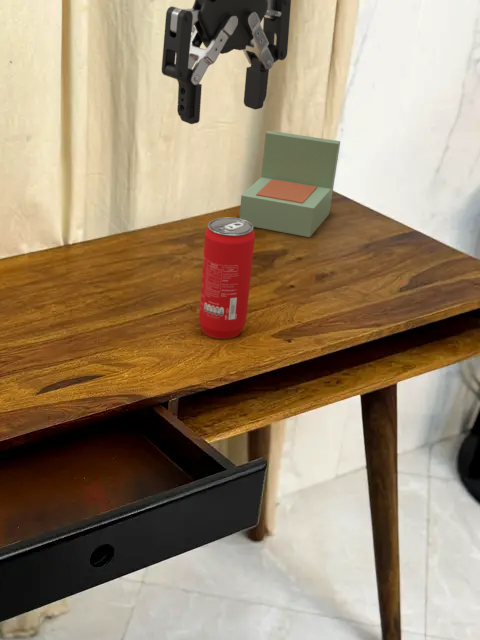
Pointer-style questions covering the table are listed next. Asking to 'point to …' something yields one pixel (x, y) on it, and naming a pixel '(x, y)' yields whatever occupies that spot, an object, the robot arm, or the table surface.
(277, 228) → the shelf stand
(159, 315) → the table surface
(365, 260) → the table surface
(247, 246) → the beverage can
